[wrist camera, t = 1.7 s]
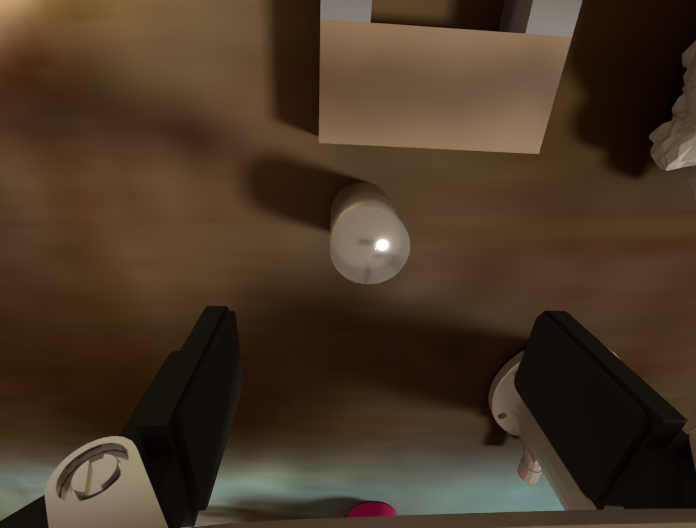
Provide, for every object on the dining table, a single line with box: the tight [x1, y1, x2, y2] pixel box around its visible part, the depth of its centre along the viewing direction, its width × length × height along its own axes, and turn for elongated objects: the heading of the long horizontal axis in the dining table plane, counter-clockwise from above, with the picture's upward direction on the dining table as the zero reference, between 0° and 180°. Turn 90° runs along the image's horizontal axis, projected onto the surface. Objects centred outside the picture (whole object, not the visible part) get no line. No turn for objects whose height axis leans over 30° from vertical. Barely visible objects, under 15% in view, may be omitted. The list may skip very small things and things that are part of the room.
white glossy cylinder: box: [330, 182, 410, 284], centre depth 21 cm, size 4×4×7 cm
